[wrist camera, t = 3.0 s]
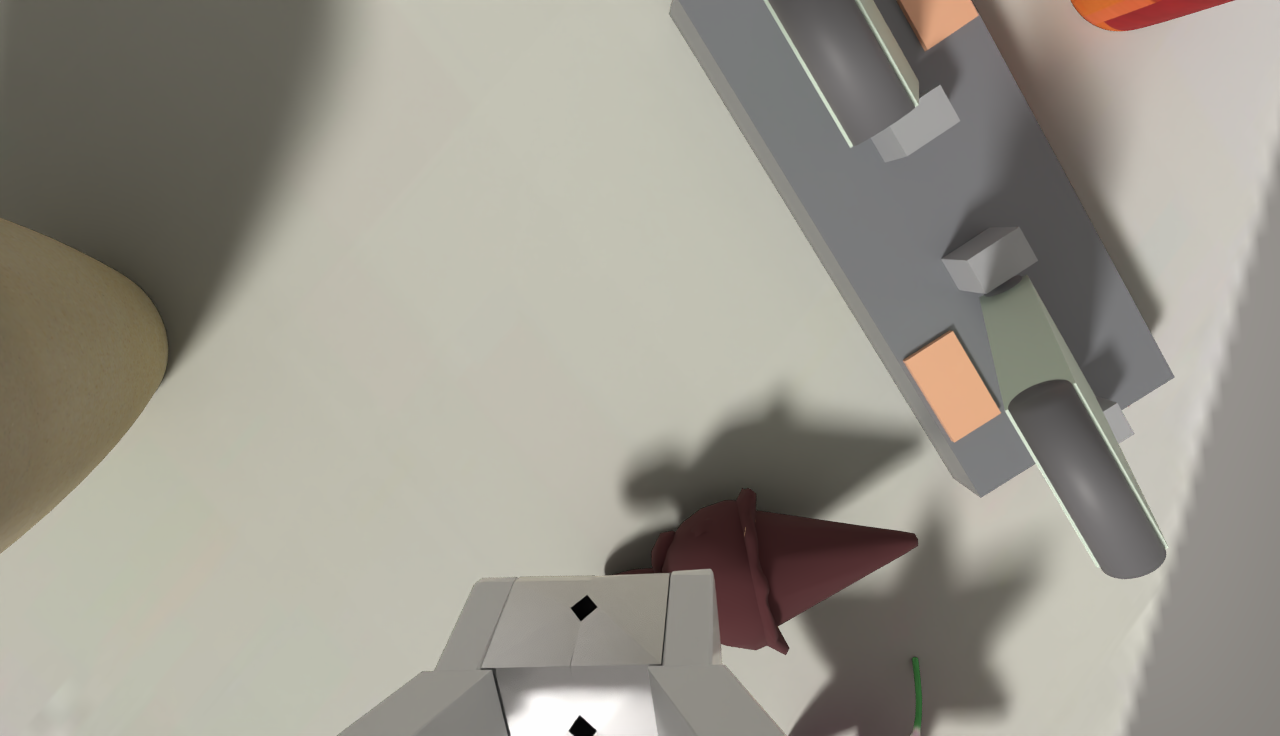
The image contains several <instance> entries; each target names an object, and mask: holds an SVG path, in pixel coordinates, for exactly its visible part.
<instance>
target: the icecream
mask: <svg viewBox="0 0 1280 736" xmlns="http://www.w3.org/2000/svg"><path fill="white" fill-rule="evenodd" d="M756 500H757V498H756V493H755V492H754V491H752V490H751V489H749V488H747V489H743V488H742V490H741V492H740V494H739V496H738V498H737V500H725V501H722V502H719V503H716V504H713V505H710V506H707V507H704V508H701V509H700V510H699V511H697V512H696V513H695V514H693V515H692V516H691V517H689V518H688V519H687V520H685V521H684V522H683V523H682V524H681V525H680V527H679V528H678V529H677V531H676V532H674V531H668V532H663V533H660V535H659V537H658V539H657V541H656V543H655V545H654V547H653V549H652V567H653V568H644V569H633V570H630V571H626V572H622V573H618V574H615V575H631V574H654V573H672V572H673V571H684V570H699V569H711V570H712V571H713V574H714V579H715V588H716V599H717V610H718V620H719V631H720V641H721V644H723V645H726V646H731V647H738V648H744V649H751V650H758V649H760V648H762V647H765V646H769V647H771V648H773V649H775V650H777V651H779V652H781V653H783V654H785V655H786V654H787V652H788V650H789V646H788V645H787V643H786V641H785V639H784V637H783V636H782V634H781V632H780V630H779V628H778V626H779V625H781V624H783V623H785V622H786V621H788V620H790V619H792V618H793V617H795V616H797V615H799V614H800V613H802V612H804V611H806V610H807V609H809V608H811V607H813V606H814V605H816V604H818V603H820V602H821V601H823V600H825V599H827V598H828V597H830V596H832V595H834V594H835V593H837V592H839V591H840V590H842V589H844V588H846V587H847V586H849V585H851V584H853V583H854V582H856V581H858V580H860V579H861V578H863V577H865V576H867V575H868V574H870V573H872V572H874V571H875V570H877V569H879V568H881V567H883V566H884V565H886V564H888V563H890V562H891V561H893V560H895V559H897V558H899V557H900V556H902V555H904V554H906V553H907V552H909V551H910V550H912V549H914V548H915V547H917V546H918V539H917V537H916V535H915V534H914V533H908V532H903V531H896V530H889V529H881V528H874V527H866V526H859V525H853V524H846V523H839V522H832V521H825V520H819V519H812V518H805V517H798V516H791V515H785V514H778V513H771V512H764V511H757V510H756Z"/></svg>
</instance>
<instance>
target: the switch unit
mask: <svg viewBox="0 0 1280 736" xmlns="http://www.w3.org/2000/svg"><path fill="white" fill-rule="evenodd" d="M873 1H874V2H875V4H876V6H877V8H878V9H879V11H880V13H881V15H882V17H883V18H884V20H885V22H886V24H887V26H888V27H889V29H890V31H891V33H892V34H893V36H894V38H895V40H896V42H897V43H898V45H899V47H900V49H901V50H902V52H903V54H904V56H905V58H906V59H907V61H908V63H909V65H910V66H911V68H912V70H913V72H914V74H915V75H916V77H917V79H918V81H919V105H918V106H916V107H915V108H914V109H913V110H912V111H911V112H909V113H908V114H907V115H905V116H904V117H902V118H901V119H899V120H898V121H897V122H895V123H894V124H892V125H890V126H889V127H887V128H886V129H884V130H883V131H881V132H879V133H878V134H876V135H875V136H873V137H871V138H869V139H868V140H866V141H864V142H862V143H861V144H859V145H856V146H853V147H851V148H850V147H849V145H848V143H847V142H846V140H845V138H844V136H843V135H842V133H841V131H840V130H839V128H838V126H837V124H836V123H835V121H834V119H833V118H832V116H831V114H830V113H829V111H828V109H827V107H826V106H825V104H824V102H823V101H822V99H821V97H820V96H819V94H818V92H817V90H816V89H815V87H814V85H813V84H812V82H811V80H810V79H809V77H808V75H807V73H806V72H805V70H804V68H803V67H802V65H801V63H800V62H799V60H798V58H797V56H796V55H795V53H794V51H793V50H792V48H791V46H790V44H789V43H788V41H787V39H786V38H785V36H784V34H783V33H782V31H781V29H780V27H779V26H778V24H777V22H776V21H775V19H774V17H773V16H772V14H771V12H770V10H769V9H768V7H767V5H766V4H765V2H764V0H672V3H671V8H670V12H669V14H670V16H671V18H672V19H673V21H674V23H675V24H676V26H677V27H678V29H679V31H680V32H681V34H682V36H683V37H684V39H685V40H686V42H687V44H688V45H689V47H690V49H691V50H692V52H693V54H694V55H695V57H696V58H697V60H698V62H699V63H700V65H701V67H702V68H703V70H704V72H705V73H706V75H707V76H708V78H709V80H710V81H711V83H712V85H713V86H714V88H715V89H716V91H717V93H718V94H719V96H720V98H721V99H722V101H723V103H724V104H725V106H726V107H727V109H728V111H729V112H730V114H731V116H732V117H733V119H734V121H735V122H736V124H737V125H738V127H739V129H740V130H741V132H742V134H743V135H744V137H745V138H746V140H747V142H748V143H749V145H750V147H751V148H752V150H753V152H754V153H755V155H756V156H757V158H758V160H759V161H760V163H761V165H762V166H763V168H764V170H765V171H766V173H767V174H768V176H769V178H770V179H771V181H772V183H773V184H774V186H775V188H776V189H777V191H778V192H779V194H780V196H781V197H782V199H783V201H784V202H785V204H786V205H787V207H788V209H789V210H790V212H791V214H792V215H793V217H794V219H795V220H796V222H797V223H798V225H799V227H800V228H801V230H802V232H803V233H804V235H805V237H806V238H807V240H808V241H809V243H810V245H811V246H812V248H813V250H814V251H815V253H816V254H817V256H818V258H819V259H820V261H821V263H822V264H823V266H824V268H825V269H826V271H827V272H828V274H829V276H830V277H831V279H832V281H833V282H834V284H835V286H836V287H837V289H838V290H839V292H840V294H841V295H842V297H843V299H844V300H845V302H846V304H847V305H848V307H849V308H850V310H851V312H852V313H853V315H854V317H855V318H856V320H857V321H858V323H859V325H860V326H861V328H862V330H863V331H864V333H865V335H866V336H867V338H868V339H869V341H870V343H871V344H872V346H873V348H874V349H875V351H876V353H877V354H878V356H879V357H880V359H881V361H882V362H883V364H884V366H885V367H886V369H887V370H888V372H889V374H890V375H891V377H892V379H893V380H894V382H895V384H896V385H897V387H898V388H899V390H900V392H901V393H902V395H903V397H904V398H905V400H906V402H907V403H908V405H909V406H910V408H911V410H912V411H913V413H914V415H915V416H916V418H917V419H918V421H919V423H920V424H921V426H922V428H923V429H924V431H925V433H926V434H927V436H928V437H929V439H930V441H931V442H932V444H933V446H934V447H935V449H936V451H937V452H938V454H939V455H940V457H941V459H942V460H943V462H944V464H945V465H946V467H947V469H948V470H949V472H950V473H951V475H952V477H953V478H954V479H955V480H957V481H958V482H959V483H961V484H962V485H964V486H965V487H966V488H968V489H969V490H971V491H972V492H973V493H975V494H976V495H978V496H979V497H983V496H984V495H986V494H988V493H989V492H991V491H992V490H994V489H996V488H997V487H999V486H1000V485H1002V484H1004V483H1005V482H1007V481H1009V480H1010V479H1012V478H1013V477H1015V476H1017V475H1018V474H1020V473H1021V472H1023V471H1025V470H1026V469H1028V468H1029V467H1031V466H1033V465H1034V464H1036V463H1035V461H1034V460H1033V458H1032V456H1031V455H1030V453H1029V451H1028V450H1027V448H1026V446H1025V444H1024V443H1023V441H1022V439H1021V438H1020V436H1019V434H1018V433H1017V431H1016V429H1015V427H1014V426H1013V424H1012V422H1011V421H1010V419H1009V417H1008V416H1007V414H1006V412H1005V410H1004V405H1003V401H1002V396H1001V392H1000V387H999V383H998V379H997V374H996V370H995V365H994V361H993V356H992V352H991V348H990V343H989V339H988V334H987V330H986V325H985V321H984V317H983V312H982V308H981V303H980V299H979V297H981V296H983V295H984V294H987V293H989V292H990V291H992V290H993V289H995V288H996V287H998V286H1000V285H1001V284H1003V283H1004V282H1006V281H1007V280H1009V279H1010V278H1012V277H1014V276H1016V275H1021V276H1022V277H1023V276H1025V275H1028V277H1029V279H1030V280H1031V282H1032V284H1033V286H1034V287H1035V289H1036V291H1037V293H1038V295H1039V296H1040V298H1041V300H1042V302H1043V303H1044V305H1045V307H1046V309H1047V311H1048V312H1049V314H1050V316H1051V318H1052V319H1053V321H1054V323H1055V325H1056V327H1057V328H1058V330H1059V332H1060V334H1061V336H1062V337H1063V339H1064V341H1065V343H1066V344H1067V346H1068V348H1069V350H1070V352H1071V353H1072V355H1073V357H1074V359H1075V360H1076V362H1077V364H1078V366H1079V368H1080V369H1081V371H1082V373H1083V375H1084V377H1085V378H1086V380H1087V382H1088V384H1089V385H1090V387H1091V389H1092V391H1093V393H1094V395H1095V397H1096V399H1097V401H1098V403H1099V405H1100V407H1101V409H1102V411H1103V413H1104V415H1105V417H1106V419H1107V421H1108V423H1109V425H1110V428H1111V430H1112V432H1113V434H1114V436H1115V438H1116V440H1117V442H1118V444H1119V443H1121V442H1122V441H1124V440H1125V439H1127V438H1129V437H1130V436H1132V435H1134V432H1133V430H1132V428H1131V426H1130V425H1129V423H1128V421H1127V419H1126V417H1125V416H1124V414H1123V412H1122V410H1123V409H1124V408H1126V407H1128V406H1129V405H1131V404H1132V403H1134V402H1136V401H1137V400H1139V399H1140V398H1142V397H1144V396H1145V395H1147V394H1148V393H1150V392H1152V391H1153V390H1155V389H1156V388H1158V387H1160V386H1161V385H1163V384H1165V383H1166V382H1168V381H1169V380H1171V379H1173V378H1174V375H1173V373H1172V371H1171V370H1170V368H1169V366H1168V364H1167V362H1166V360H1165V358H1164V357H1163V355H1162V353H1161V351H1160V349H1159V347H1158V345H1157V343H1156V342H1155V340H1154V338H1153V336H1152V334H1151V332H1150V330H1149V329H1148V327H1147V325H1146V323H1145V321H1144V319H1143V317H1142V316H1141V314H1140V312H1139V310H1138V308H1137V306H1136V304H1135V303H1134V301H1133V299H1132V297H1131V295H1130V293H1129V291H1128V290H1127V288H1126V286H1125V284H1124V282H1123V280H1122V278H1121V277H1120V275H1119V273H1118V271H1117V269H1116V267H1115V265H1114V264H1113V262H1112V260H1111V258H1110V256H1109V254H1108V252H1107V251H1106V249H1105V247H1104V245H1103V243H1102V241H1101V239H1100V237H1099V236H1098V234H1097V232H1096V230H1095V228H1094V226H1093V224H1092V223H1091V221H1090V219H1089V217H1088V215H1087V213H1086V211H1085V210H1084V208H1083V206H1082V204H1081V202H1080V200H1079V198H1078V197H1077V195H1076V193H1075V191H1074V189H1073V187H1072V185H1071V184H1070V182H1069V180H1068V178H1067V176H1066V174H1065V172H1064V171H1063V169H1062V167H1061V165H1060V163H1059V161H1058V159H1057V158H1056V156H1055V154H1054V152H1053V150H1052V148H1051V146H1050V144H1049V143H1048V141H1047V139H1046V137H1045V135H1044V133H1043V131H1042V130H1041V128H1040V126H1039V124H1038V122H1037V120H1036V118H1035V117H1034V115H1033V113H1032V111H1031V109H1030V107H1029V105H1028V104H1027V102H1026V100H1025V98H1024V96H1023V94H1022V92H1021V91H1020V89H1019V87H1018V85H1017V83H1016V81H1015V79H1014V78H1013V76H1012V74H1011V72H1010V70H1009V68H1008V66H1007V65H1006V63H1005V61H1004V59H1003V57H1002V55H1001V53H1000V51H999V50H998V48H997V46H996V44H995V42H994V40H993V38H992V37H991V35H990V33H989V31H988V29H987V27H986V25H985V24H984V22H983V20H982V18H981V16H980V14H979V12H978V11H977V9H976V7H975V5H974V3H973V1H972V0H873Z"/></svg>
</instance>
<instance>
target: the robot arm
mask: <svg viewBox="0 0 1280 736" xmlns="http://www.w3.org/2000/svg"><path fill="white" fill-rule="evenodd" d="M337 736H787V735H786V734H785V733H784V732H783V731H782V730H781V729H780V727H779V726H778V725H777V724H776V723H775V722H774V720H773V719H772V718H771V717H770V716H769V715H768V714H767V712H766V711H765V710H764V709H763V708H762V707H761V706H760V704H759V703H758V702H757V701H756V700H755V699H754V698H753V696H752V695H751V694H750V693H749V692H748V691H747V689H746V688H745V687H744V686H743V685H742V684H741V683H740V681H739V680H738V679H737V678H736V677H735V676H734V675H733V673H732V672H731V671H730V670H729V669H728V668H727V666H726V665H722V654H721V641H720V631H719V620H718V610H717V599H716V588H715V579H714V574H713V571H712V570H711V569H699V570H684V571H673V572H672V573H654V574H631V575H607V576H595V575H590V576H526V577H519V578H517V577H497V578H482V579H480V580H479V581H477V582H476V583H475V584H474V586H473V588H472V590H471V592H470V594H469V596H468V599H467V601H466V603H465V605H464V607H463V609H462V611H461V614H460V616H459V618H458V620H457V622H456V624H455V627H454V629H453V631H452V633H451V635H450V637H449V639H448V642H447V644H446V646H445V648H444V650H443V652H442V655H441V657H440V659H439V661H438V663H437V665H436V667H435V670H434V671H422V672H421V673H419V674H418V675H417V676H415V677H414V678H413V679H411V680H410V681H409V682H407V683H406V684H405V685H403V686H402V687H401V688H399V689H398V690H397V691H395V692H394V693H393V694H391V695H390V696H389V697H387V698H386V699H385V700H383V701H382V702H381V703H379V704H378V705H377V706H375V707H374V708H373V709H371V710H370V711H369V712H367V713H366V714H365V715H363V716H362V717H361V718H359V719H358V720H357V721H355V722H354V723H353V724H351V725H350V726H349V727H347V728H346V729H345V730H343V731H342V732H341V733H339V734H338V735H337Z"/></svg>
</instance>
